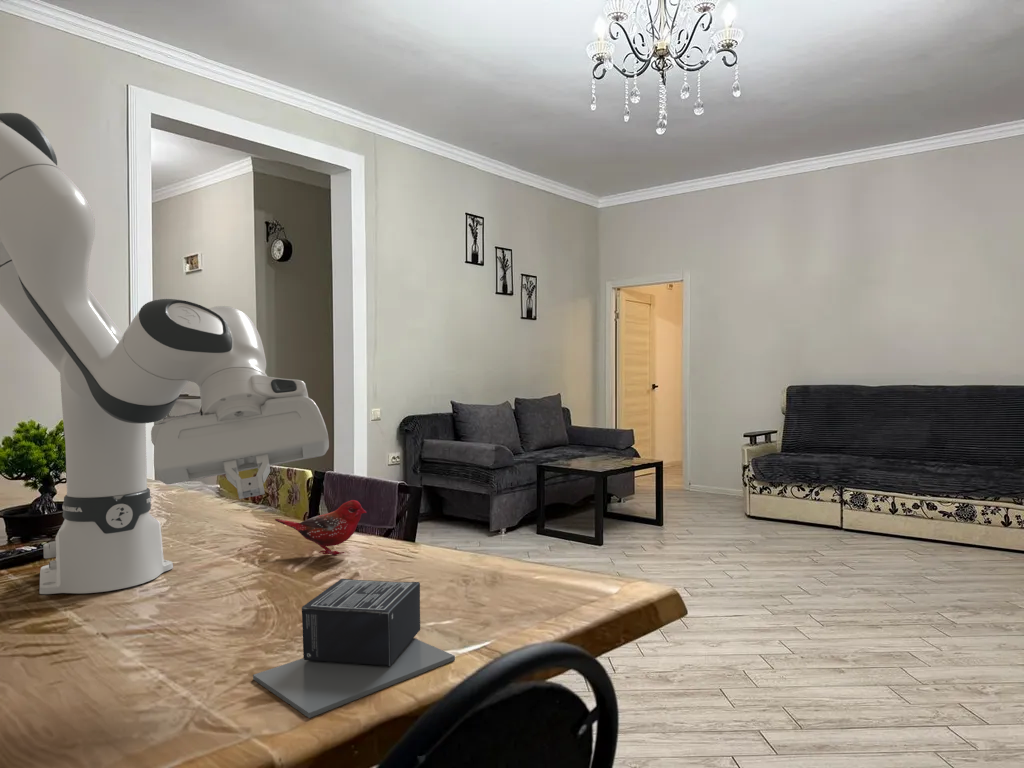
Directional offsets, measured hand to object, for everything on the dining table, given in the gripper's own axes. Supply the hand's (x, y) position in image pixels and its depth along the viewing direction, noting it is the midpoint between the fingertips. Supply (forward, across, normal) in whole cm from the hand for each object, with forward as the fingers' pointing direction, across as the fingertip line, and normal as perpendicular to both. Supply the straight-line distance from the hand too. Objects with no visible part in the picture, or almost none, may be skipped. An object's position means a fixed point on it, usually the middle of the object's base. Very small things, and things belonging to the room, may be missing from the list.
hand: (251, 494), depth 82 cm
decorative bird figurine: (-13, +9, +43) cm, 46 cm away
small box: (+14, +5, +8) cm, 17 cm away
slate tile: (+22, +8, +5) cm, 24 cm away
